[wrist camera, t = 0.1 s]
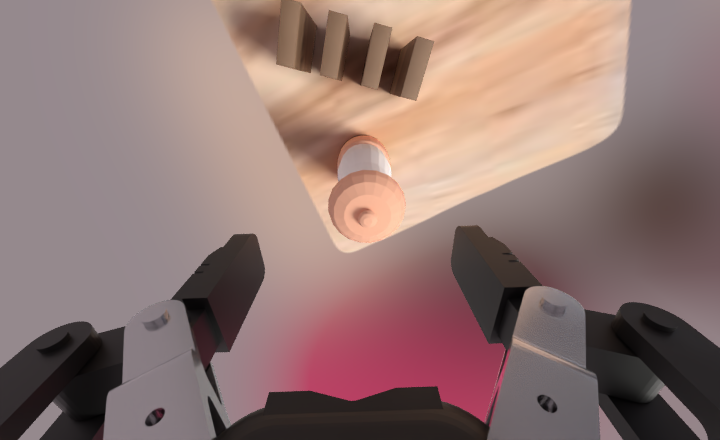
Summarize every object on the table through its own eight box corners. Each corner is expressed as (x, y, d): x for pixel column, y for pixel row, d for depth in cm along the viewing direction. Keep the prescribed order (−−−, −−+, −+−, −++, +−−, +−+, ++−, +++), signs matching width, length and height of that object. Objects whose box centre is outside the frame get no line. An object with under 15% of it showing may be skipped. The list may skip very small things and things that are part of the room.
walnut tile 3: (382, 43, 32) (392, 27, 23) (372, 88, 34) (377, 89, 25) (369, 39, 32) (374, 22, 23) (360, 85, 34) (361, 85, 25)
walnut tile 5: (316, 25, 31) (300, 2, 22) (310, 72, 33) (293, 68, 24) (303, 22, 31) (281, -4, 22) (297, 69, 33) (276, 64, 24)
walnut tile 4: (349, 34, 32) (347, 15, 23) (341, 80, 34) (336, 79, 25) (336, 31, 31) (328, 10, 22) (329, 77, 34) (319, 75, 25)
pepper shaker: (328, 158, 38) (304, 218, 21) (365, 123, 36) (373, 159, 19) (361, 193, 41) (363, 271, 24) (398, 162, 39) (430, 224, 22)
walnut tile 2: (413, 52, 32) (434, 41, 24) (401, 96, 35) (416, 100, 26) (400, 49, 32) (417, 36, 23) (389, 93, 34) (400, 96, 26)
